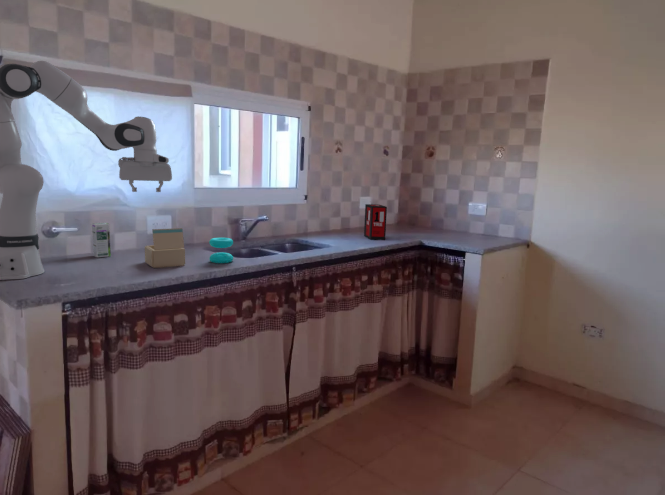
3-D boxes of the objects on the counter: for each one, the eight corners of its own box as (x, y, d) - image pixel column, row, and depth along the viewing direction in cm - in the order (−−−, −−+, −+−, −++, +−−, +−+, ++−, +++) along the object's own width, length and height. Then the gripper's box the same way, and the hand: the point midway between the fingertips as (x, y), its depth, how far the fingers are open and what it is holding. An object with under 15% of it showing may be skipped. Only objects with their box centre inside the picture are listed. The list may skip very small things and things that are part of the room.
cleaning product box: (385, 240, 283) (386, 206, 280) (370, 240, 282) (372, 206, 278) (377, 236, 299) (379, 204, 296) (363, 236, 298) (365, 204, 294)
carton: (152, 268, 186) (152, 250, 185) (144, 262, 197) (143, 245, 196) (185, 265, 193) (185, 248, 192) (176, 259, 204) (175, 243, 203)
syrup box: (96, 257, 202) (95, 224, 200) (93, 255, 207) (91, 222, 204) (111, 256, 206) (109, 223, 204) (107, 254, 210) (105, 222, 208)
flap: (154, 249, 185) (152, 229, 185) (154, 249, 185) (152, 229, 185) (184, 247, 191) (182, 228, 191) (183, 247, 192) (181, 228, 192)
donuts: (234, 240, 199) (210, 240, 196) (234, 263, 201) (210, 264, 198) (231, 236, 209) (208, 237, 205) (231, 259, 210) (208, 259, 207)
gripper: (119, 156, 186) (120, 191, 187) (172, 158, 197) (173, 192, 199) (116, 157, 191) (118, 191, 193) (168, 159, 202) (169, 192, 204)
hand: (146, 192), depth 196 cm, fingers open, 8 cm apart
